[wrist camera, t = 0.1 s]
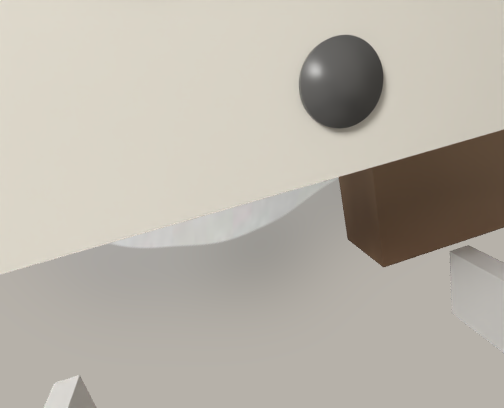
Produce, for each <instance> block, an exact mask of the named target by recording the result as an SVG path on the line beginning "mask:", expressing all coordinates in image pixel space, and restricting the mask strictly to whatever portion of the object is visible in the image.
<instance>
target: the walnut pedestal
mask: <svg viewBox="0 0 504 408" xmlns="http://www.w3.org/2000/svg"><path fill="white" fill-rule="evenodd" d="M339 182H340V189H341V195H342V203H343V210H344V216H345V224H346V230H347V237H348V240H349V241H351V242H352V243H353V244H355V245H356V246H357V247H358V248H360V249H361V250H362V251H363V252H365V253H366V254H367V255H368V256H370V257H371V258H372V259H373V260H375V261H376V262H377V263H379V264H380V265H381V266H382V267H386V266H389V265H392V264H395V263H398V262H401V261H404V260H407V259H410V258H413V257H416V256H419V255H422V254H425V253H428V252H431V251H434V250H437V249H440V248H443V247H446V246H449V245H452V244H455V243H458V242H461V241H464V240H467V239H470V238H473V237H477V236H479V235H483V234H486V233H488V232H492V231H495V230H497V229H500V228H503V227H504V130H500V131H497V132H493V133H490V134H486V135H483V136H479V137H476V138H472V139H469V140H465V141H462V142H458V143H455V144H452V145H448V146H445V147H441V148H438V149H434V150H431V151H427V152H424V153H420V154H417V155H413V156H410V157H406V158H403V159H399V160H396V161H393V162H389V163H386V164H382V165H379V166H375V167H372V168H368V169H365V170H361V171H358V172H354V173H351V174H347V175H344V176H340V177H339Z"/></svg>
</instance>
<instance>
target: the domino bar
mask: <svg viewBox="0 0 504 408" xmlns="http://www.w3.org/2000/svg"><path fill="white" fill-rule="evenodd" d="M500 130H504V0H0V274H4V273H7V272H11V271H14V270H18V269H21V268H24V267H28V266H31V265H35V264H38V263H42V262H45V261H49V260H52V259H56V258H59V257H63V256H66V255H70V254H73V253H77V252H80V251H83V250H87V249H90V248H94V247H97V246H100V245H104V244H108V243H111V242H115V241H118V240H122V239H125V238H129V237H132V236H136V235H139V234H143V233H146V232H149V231H153V230H156V229H160V228H163V227H167V226H170V225H174V224H177V223H181V222H184V221H188V220H191V219H195V218H198V217H202V216H205V215H208V214H212V213H215V212H219V211H222V210H226V209H229V208H233V207H236V206H240V205H243V204H247V203H250V202H254V201H257V200H261V199H264V198H268V197H271V196H274V195H278V194H281V193H285V192H288V191H292V190H295V189H299V188H302V187H306V186H309V185H313V184H316V183H320V182H323V181H327V180H330V179H333V178H337V177H340V176H344V175H347V174H351V173H354V172H358V171H361V170H365V169H368V168H372V167H375V166H379V165H382V164H386V163H389V162H393V161H396V160H399V159H403V158H406V157H410V156H413V155H417V154H420V153H424V152H427V151H431V150H434V149H438V148H441V147H445V146H448V145H452V144H455V143H458V142H462V141H465V140H469V139H472V138H476V137H479V136H483V135H486V134H490V133H493V132H497V131H500Z"/></svg>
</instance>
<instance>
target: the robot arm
mask: <svg viewBox="0 0 504 408" xmlns="http://www.w3.org/2000/svg"><path fill="white" fill-rule="evenodd" d="M450 271H451V302H452V314H453V315H455V316H456V317H457V318H458V319H460V320H461V321H463V322H464V323H465V324H466V325H468V326H469V327H470V328H471V329H473V330H474V331H475V332H477V333H478V334H479V335H481V336H482V337H483V338H484V339H486V340H487V341H488V342H490V343H491V344H492V345H494V346H495V347H496V348H497V349H499V350H500V351H501V352H503V353H504V263H503V262H501V261H499V260H497V259H495V258H493V257H491V256H489V255H487V254H485V253H483V252H481V251H479V250H477V249H475V248H473V247H471V246H465V247H462V248H459V249H456V250H453V251H450ZM44 408H96V406H95V404H94V402H93V400H92V398H91V396H90V394H89V392H88V391H87V388H86V386H85V384H84V383H83V381H82V379H81V377H80V375H78V376H75V377H72V378H69V379H66V380H63V381H60V382H57V383H54V385H53V387H52V389H51V392H50V394H49V396H48V399H47V402H46V403H45V406H44Z"/></svg>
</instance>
